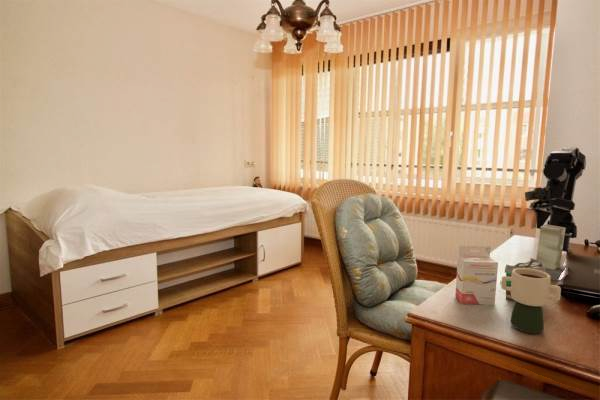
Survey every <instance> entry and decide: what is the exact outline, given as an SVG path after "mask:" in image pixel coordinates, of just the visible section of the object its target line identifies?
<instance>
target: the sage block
mask: <svg viewBox="0 0 600 400" xmlns="http://www.w3.org/2000/svg"><path fill="white" fill-rule="evenodd" d="M564 235H565V228H564V227H558V226H553V225H547V224H544V225H543V226H541V228H540V229H539V236H538V244H537V245H538V246H537V251H536V257H535V259H536V260H538V261H541V262H542V263H543V264H544V266H545V268H548V269H551V270H555V269H557V268H559V267H560V262H561V256H562V249H563V242H564Z"/></svg>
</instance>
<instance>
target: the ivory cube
mask: <svg viewBox="0 0 600 400" xmlns="http://www.w3.org/2000/svg"><path fill="white" fill-rule="evenodd" d="M565 260H566V261H567V252H565V251H562V256H561V262H560V265H561V266H563V264H564V262H565Z"/></svg>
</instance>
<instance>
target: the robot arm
mask: <svg viewBox="0 0 600 400" xmlns="http://www.w3.org/2000/svg"><path fill="white" fill-rule="evenodd" d="M586 165H587V157H586V155H585V154H583V153H582V152H581V151H580V148H579V147H577V146H573V147H568V146H566V147H563V148H562V150H560V151H550V154H548V155H547V158H546V160H545V162H544V166H543V167H544V168H543V170H542V173H543V176H544V177H545V178H546V179H547V181H546V185H545V186H544V187H541V186H540V187H535V188H534V189H533V190H529V191H524V198H525V202H528V201H532V202H530V205H529V208H530V210H531V211H532V212H533V213H534V214H535V223H536V229H538V230H540V228H541V226H544V225H545V223H546V225H553V226H558V227H564V228H565V235H564V242H563V249H562V251H565V252H567V254H569V253H571V252H572V249H571V248H570V241H571V239H576V238H577V236H578V226H576V222H575V220H574V216H573V214H572V213H571V212H572V211H574V210H575V207H576V204H575V202H574V193H575V188H576V184H577V183H576V182H577V180H579V178H580V177H582V176H583V172H584V171H585V170H586Z"/></svg>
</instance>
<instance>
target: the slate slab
mask: <svg viewBox="0 0 600 400" xmlns="http://www.w3.org/2000/svg"><path fill="white" fill-rule="evenodd" d="M566 267H567V265H565V266H561V265H560V267H559V268H557V269H555V270H551V269H548V268H545V269H546V273H547V274H549V275H550V277H551V281H552V280H553V281H557V282H559V281H558V279H559V277H560V275H561V273H562V272H563V271H564V270H565V268H566Z"/></svg>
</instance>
